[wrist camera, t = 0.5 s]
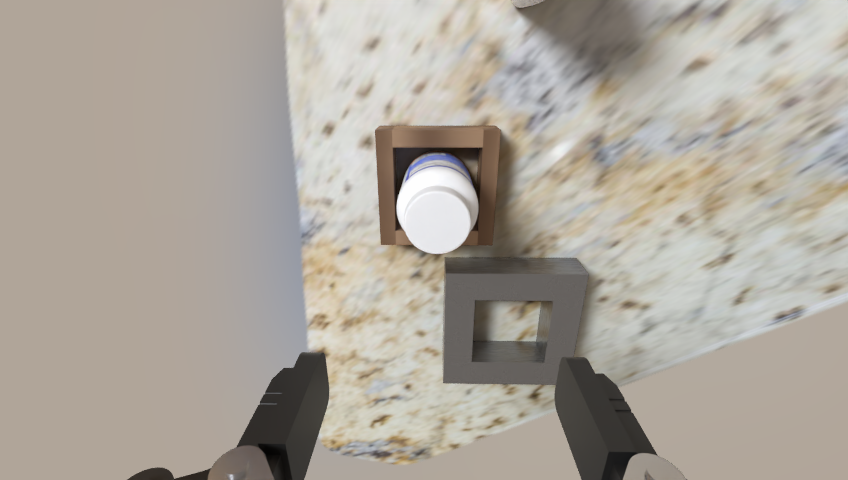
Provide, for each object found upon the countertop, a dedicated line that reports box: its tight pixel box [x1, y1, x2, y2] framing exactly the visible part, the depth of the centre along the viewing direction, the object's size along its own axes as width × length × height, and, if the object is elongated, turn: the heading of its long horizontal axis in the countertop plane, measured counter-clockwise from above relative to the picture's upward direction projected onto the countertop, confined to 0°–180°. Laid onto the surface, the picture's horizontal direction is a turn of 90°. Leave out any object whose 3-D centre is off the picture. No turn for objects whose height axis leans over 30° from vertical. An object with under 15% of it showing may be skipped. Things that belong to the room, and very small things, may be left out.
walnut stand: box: [375, 126, 501, 245], centre depth 31 cm, size 9×9×2 cm
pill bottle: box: [396, 151, 479, 254], centre depth 27 cm, size 5×5×10 cm
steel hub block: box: [443, 257, 589, 385], centre depth 35 cm, size 12×12×3 cm
